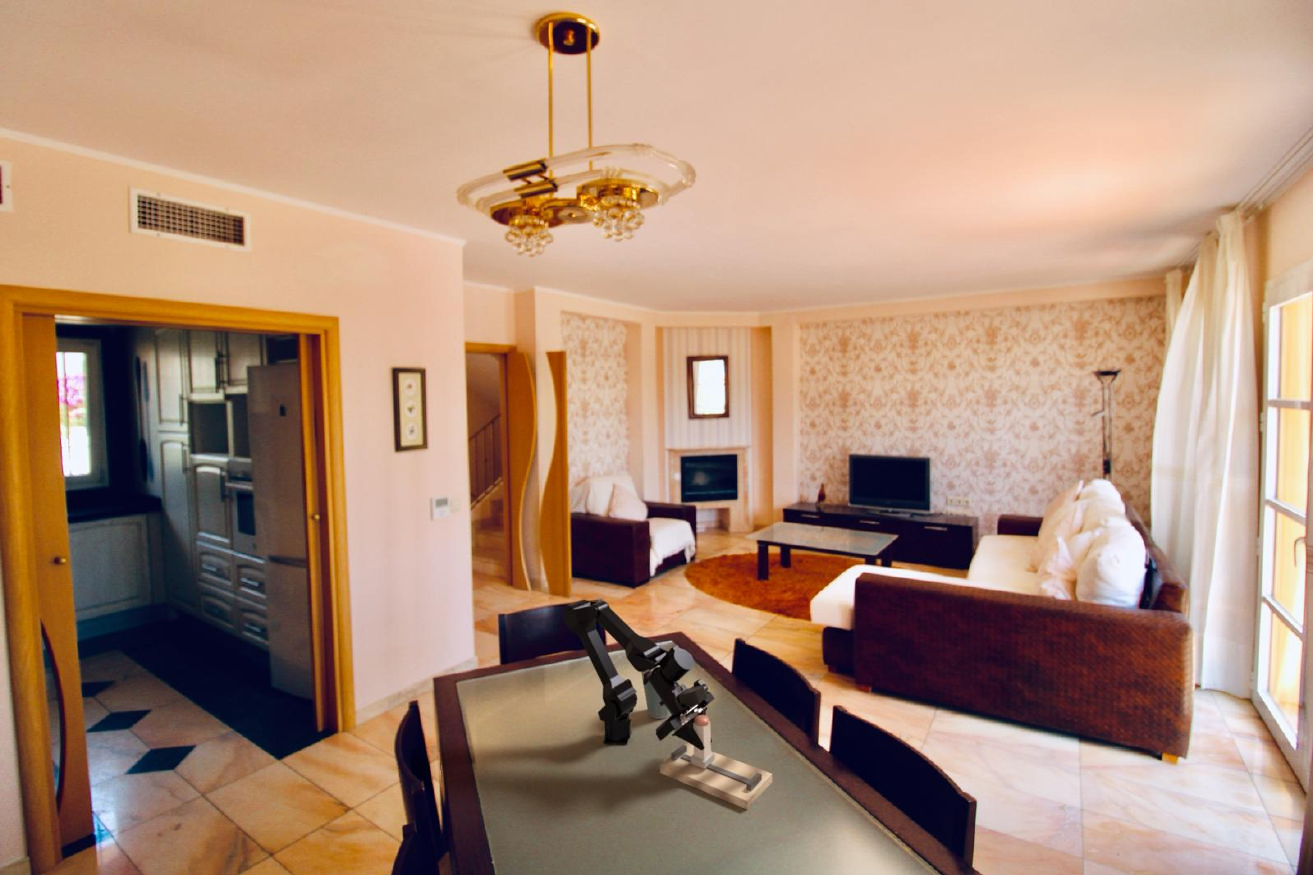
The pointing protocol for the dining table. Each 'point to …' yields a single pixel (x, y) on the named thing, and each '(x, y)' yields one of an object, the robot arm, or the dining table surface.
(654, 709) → the disposable coffee cup
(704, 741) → the slider lever
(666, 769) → the slider console
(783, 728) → the dining table surface
